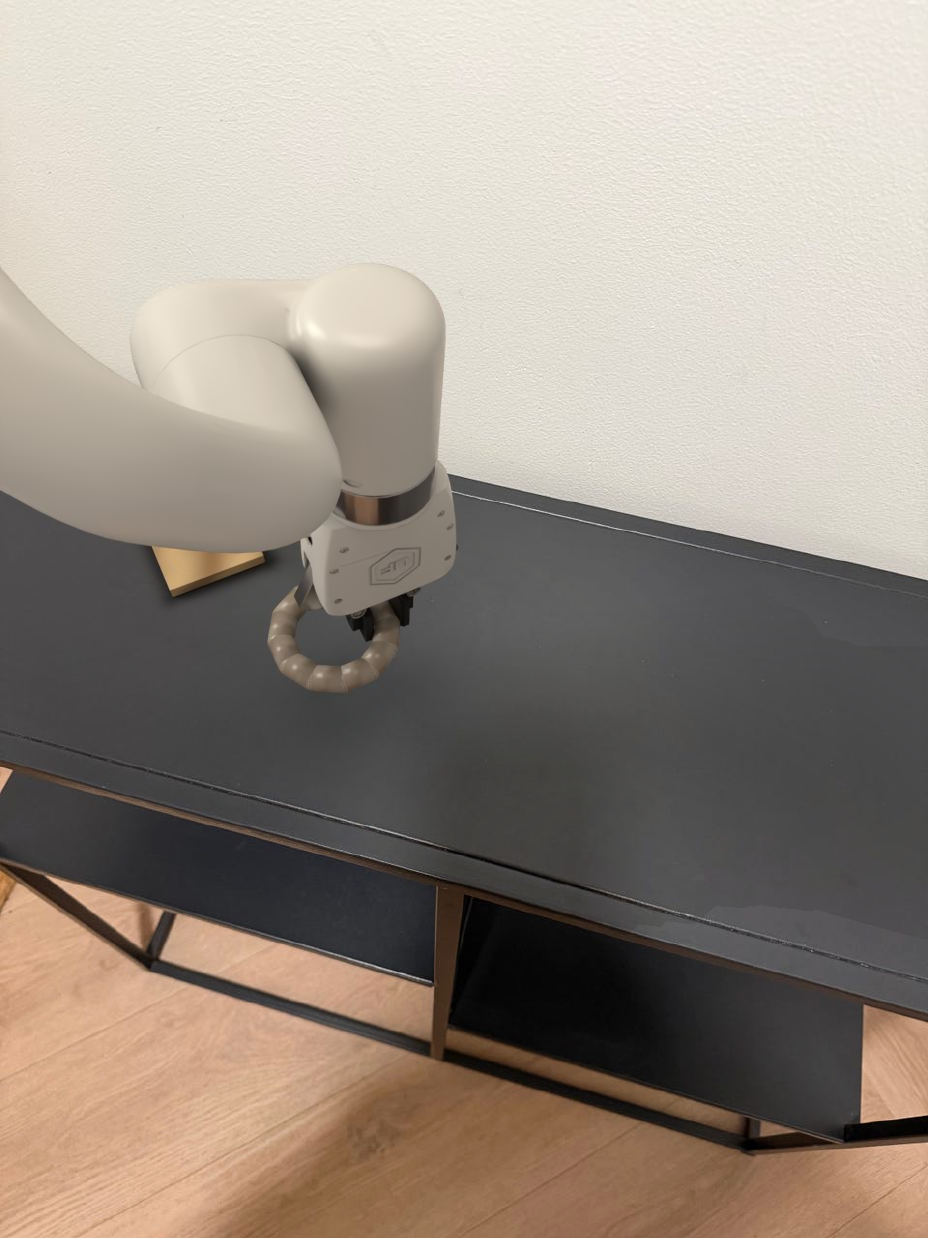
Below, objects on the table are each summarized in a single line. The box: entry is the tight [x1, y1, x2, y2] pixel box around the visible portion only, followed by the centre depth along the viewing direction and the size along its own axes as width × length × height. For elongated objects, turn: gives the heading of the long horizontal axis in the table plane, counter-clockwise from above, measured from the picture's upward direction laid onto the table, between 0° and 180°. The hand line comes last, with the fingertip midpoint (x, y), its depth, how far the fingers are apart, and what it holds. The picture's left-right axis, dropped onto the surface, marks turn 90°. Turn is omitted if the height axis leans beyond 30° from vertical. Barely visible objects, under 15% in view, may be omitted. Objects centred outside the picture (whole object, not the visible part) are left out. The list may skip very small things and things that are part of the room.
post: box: [151, 546, 266, 598], centre depth 75 cm, size 9×9×13 cm
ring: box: [266, 585, 401, 694], centre depth 65 cm, size 10×10×2 cm
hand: (379, 618), depth 66 cm, fingers closed on ring, 2 cm apart
